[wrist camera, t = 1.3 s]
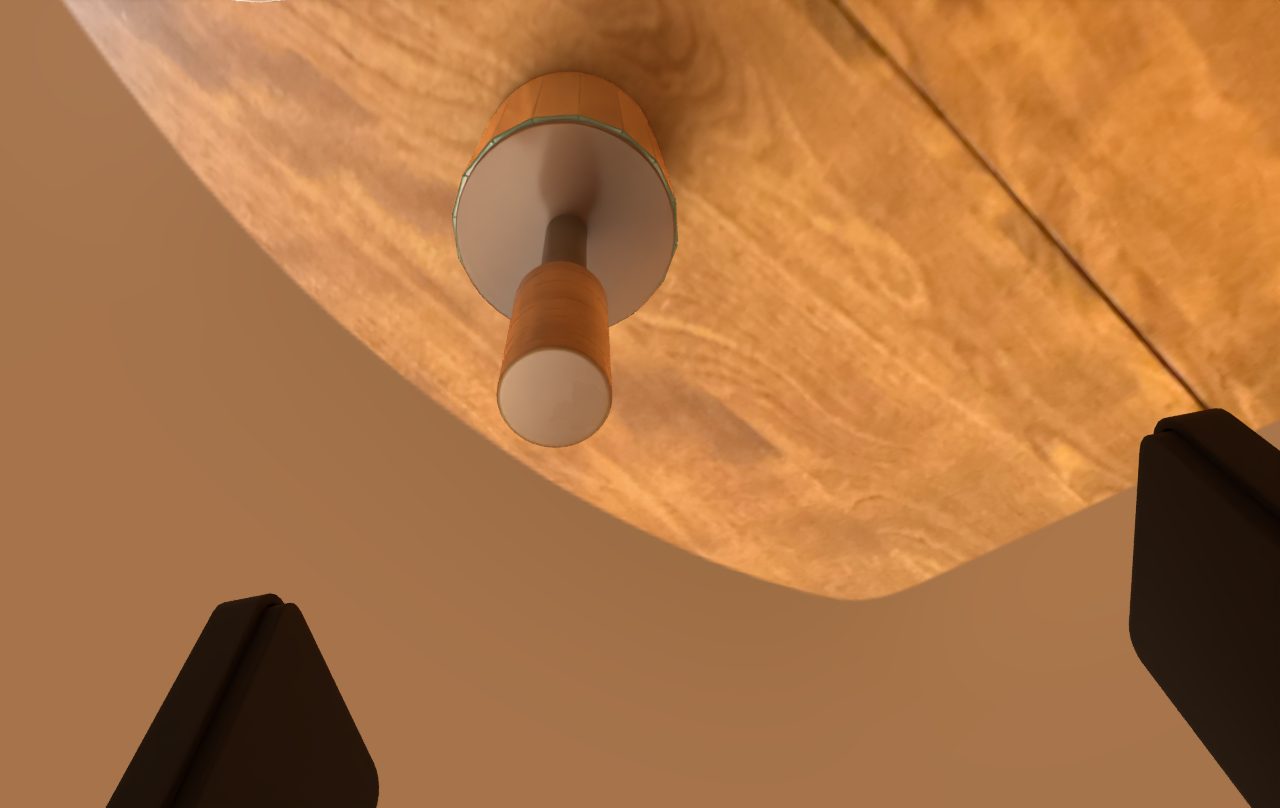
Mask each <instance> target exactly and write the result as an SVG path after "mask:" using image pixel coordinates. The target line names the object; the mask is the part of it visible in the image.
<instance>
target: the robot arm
mask: <svg viewBox="0 0 1280 808" xmlns="http://www.w3.org/2000/svg"><path fill="white" fill-rule="evenodd" d="M1129 632H1130V637H1131V641H1132V644H1133V647H1134V649H1135V651H1136V653H1137V655H1138V657H1139V659H1140V660H1141V662H1142V663H1143V664H1144V666H1145V667H1146V668H1147V670H1148V671H1149V672H1150V674H1151V675H1152V676H1153V678H1154V679H1155V680H1156V682H1157V683H1158V684H1159V686H1160V687H1161V688H1162V690H1163V691H1164V692H1165V694H1166V695H1167V696H1168V698H1169V699H1170V700H1171V702H1172V703H1173V704H1174V706H1175V707H1176V708H1177V710H1178V711H1179V712H1180V713H1181V715H1182V716H1183V718H1185V720H1186V721H1187V723H1188V724H1189V725H1190V727H1191V728H1192V729H1193V731H1194V732H1195V733H1196V735H1197V736H1198V737H1199V739H1200V740H1201V741H1202V743H1203V744H1204V745H1205V746H1206V748H1207V749H1208V751H1209V752H1210V753H1211V755H1212V756H1213V757H1214V759H1215V760H1216V761H1217V763H1218V764H1219V765H1220V767H1221V768H1222V769H1223V770H1224V772H1225V773H1226V774H1227V776H1228V777H1229V778H1230V780H1231V781H1232V783H1233V784H1234V785H1235V786H1236V788H1237V789H1238V790H1239V792H1240V793H1241V794H1242V796H1243V797H1244V798H1245V800H1246V801H1247V802H1248V804H1249V805H1250V806H1251V808H1280V451H1279V450H1278V449H1277V448H1275V447H1274V446H1273V445H1271V444H1270V443H1269V442H1268V441H1266V440H1265V439H1264V438H1262V437H1261V436H1260V435H1258V434H1257V433H1256V432H1254V431H1253V430H1252V429H1250V428H1249V427H1248V426H1246V425H1245V424H1244V423H1242V422H1241V421H1240V420H1238V419H1237V418H1236V417H1234V416H1233V415H1232V414H1231V413H1229V412H1227V411H1225V410H1223V409H1218V408H1214V409H1209V410H1203V411H1198V412H1193V413H1188V414H1183V415H1178V416H1173V417H1168V418H1163V419H1162V420H1160V421H1159V422H1158V423H1157V425H1156V427H1155V429H1154V434H1152V435H1147V436H1146V437H1144V438H1143V440H1142V442H1141V445H1140V453H1139V469H1138V485H1137V501H1136V518H1135V535H1134V550H1133V567H1132V583H1131V600H1130V615H1129ZM378 796H379V781H378V775H377V770H376V768H375V765H374V762H373V760H372V758H371V756H370V754H369V752H368V750H367V748H366V746H365V744H364V742H363V740H362V737H361V735H360V733H359V731H358V729H357V727H356V725H355V723H354V721H353V719H352V717H351V715H350V713H349V710H348V708H347V706H346V704H345V702H344V700H343V698H342V696H341V694H340V692H339V690H338V687H337V686H336V683H335V681H334V679H333V677H332V675H331V673H330V671H329V669H328V667H327V665H326V662H325V660H324V658H323V656H322V654H321V652H320V650H319V648H318V646H317V644H316V642H315V640H314V638H313V635H312V633H311V631H310V629H309V627H308V625H307V623H306V621H305V619H304V617H303V615H302V613H301V611H300V609H299V608H298V607H297V606H296V605H295V604H293V603H287V604H284V603H283V601H282V600H281V599H280V598H279V597H278V596H277V595H275V594H265V595H260V596H255V597H249V598H244V599H239V600H234V601H229V602H224V603H222V604H220V605H218V606H217V607H216V609H215V610H214V611H213V613H212V615H211V616H210V618H209V620H208V622H207V624H206V626H205V627H204V629H203V631H202V633H201V635H200V637H199V638H198V640H197V642H196V644H195V646H194V647H193V649H192V651H191V653H190V655H189V657H188V658H187V660H186V662H185V664H184V666H183V668H182V670H181V671H180V673H179V675H178V677H177V679H176V681H175V682H174V684H173V686H172V688H171V690H170V692H169V693H168V695H167V697H166V699H165V701H164V702H163V704H162V706H161V708H160V710H159V711H158V713H157V715H156V717H155V719H154V721H153V722H152V724H151V726H150V728H149V730H148V731H147V733H146V735H145V737H144V739H143V741H142V743H141V744H140V746H139V748H138V750H137V752H136V753H135V755H134V757H133V759H132V761H131V763H130V764H129V766H128V768H127V770H126V772H125V773H124V775H123V777H122V779H121V781H120V782H119V785H118V786H117V788H116V790H115V792H114V793H113V795H112V797H111V799H110V801H109V803H108V805H107V806H106V808H376V806H377V802H378Z"/></svg>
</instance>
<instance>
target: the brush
mask: <svg viewBox="0 0 1280 808" xmlns="http://www.w3.org/2000/svg"><path fill="white" fill-rule="evenodd" d="M456 238H457V245H458V249H459V254H460V257H461V260H462V263H463V265H464V268H465V270H466V272H467V274H468V276H469V278H470V280H471V282H472V283H473V284H474V286H475V287H476V289H477V290H478V292H479V293H480V294H481V295H482V296H483V297H484V298H485V300H486V301H487V302H488V303H489V304H490V305H492V306H493V307H494V308H495V309H496V310H497V311H499V312H500V313H501V314H503V315H504V316H506V317H507V318H509V319H510V320H511V321H510V326H509V331H508V336H507V341H506V346H505V351H504V356H503V361H502V366H501V372H500V377H499V382H498V387H497V403H498V407H499V410H500V413H501V415H502V417H503V419H504V421H505V422H506V423H507V425H508V426H509V427H510V428H511V429H512V430H513V431H514V432H515V433H516V434H517V435H518V436H520V437H521V438H523V439H525V440H526V441H528V442H531V443H533V444H536V445H539V446H544V447H553V448H555V447H567V446H571V445H575V444H577V443H580V442H582V441H584V440H586V439H587V438H589V437H590V436H592V435H593V434H594V433H595V432H596V431H598V430H599V428H600V427H601V426H602V425H603V424H604V422H605V420H606V419H607V417H608V414H609V412H610V409H611V404H612V382H611V363H610V344H609V327H610V326H612V325H615V324H617V323H619V322H620V321H622V320H624V319H626V318H627V317H629V316H630V315H632V314H633V313H634V312H636V311H637V310H638V309H639V308H640V307H641V306H642V305H644V304H645V303H646V302H647V301H648V299H649V298H650V297H651V296H652V295H653V293H654V292H655V291H656V289H657V288H658V286H659V285H660V283H661V281H662V280H663V278H664V276H665V273H666V271H667V269H668V267H669V263H670V260H671V257H672V253H673V247H674V241H675V223H674V213H673V209H672V205H671V201H670V197H669V194H668V192H667V189H666V187H665V184H664V182H663V180H662V179H661V177H660V175H659V173H658V171H657V170H656V168H655V167H654V166H653V164H652V163H651V162H650V160H649V159H648V158H647V157H646V156H645V155H644V154H643V153H642V152H641V151H640V150H639V149H638V148H637V147H636V146H634V145H633V144H632V143H631V142H629V141H628V140H627V139H625V138H623V137H622V136H620V135H618V134H617V133H615V132H613V131H611V130H608V129H606V128H603V127H601V126H598V125H594V124H591V123H587V122H581V121H574V120H553V121H545V122H539V123H536V124H532V125H529V126H526V127H523V128H521V129H519V130H516V131H514V132H512V133H510V134H509V135H507V136H505V137H504V138H502V139H501V140H499V141H498V142H497V143H496V144H494V145H493V146H492V147H491V148H489V149H488V151H487V152H486V153H485V154H484V155H483V156H482V157H481V158H480V159H479V161H478V162H477V164H476V165H475V166H474V168H473V169H472V171H471V173H470V175H469V177H468V178H467V180H466V182H465V184H464V187H463V190H462V193H461V195H460V198H459V203H458V208H457V213H456Z"/></svg>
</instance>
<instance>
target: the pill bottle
mask: <svg viewBox="0 0 1280 808" xmlns="http://www.w3.org/2000/svg"><path fill="white" fill-rule="evenodd" d="M234 1H242V2H276V1H284V0H234Z"/></svg>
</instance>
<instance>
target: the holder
mask: <svg viewBox="0 0 1280 808" xmlns="http://www.w3.org/2000/svg"><path fill="white" fill-rule="evenodd" d="M553 120H574V121H581V122H587V123H591V124H594V125H598V126H601V127H603V128H606V129H608V130H611V131H613V132H615V133H617V134H618V135H620V136H622V137H623V138H625V139H627V140H628V141H629V142H631V143H632V144H633V145H634V146H636V147H637V148H638V149H639V150H640V151H641V152H642V153H643V154H644V155H645V156H646V157H647V158H648V159H649V160H650V162H651V163H652V164H653V166H654V167H655V168H656V170H657V171H658V173H659V175H660V177H661V179H662V180H663V182H664V184H665V187H666V189H667V192H668V194H669V197H670V201H671V205H672V209H673V213H674V223H675V241H674V247H673V253H672V257H671V260H670V263H669V266H670V264H671V261H672V258H673V256H674V253H675V250H676V248H677V242H678V233H677V207H676V199H675V196H674V193H673V190H672V187H671V184H670V180H669V177H668V174H667V171H666V168H665V165H664V162H663V159H662V156H661V153H660V150H659V146H658V143H657V141H656V138H655V136H654V134H653V132H652V130H651V127H650V125H649V122H648V121H647V119H646V117H645V115H644V113H643V111H642V110H641V108H640V107H639V106H638V105H637V104H636V103H635V101H634V100H633V99H632V98H631V97H630V96H629V95H628V94H626V93H625V92H624V91H623V90H621V89H620V88H619V87H617V86H616V85H614V84H612V83H611V82H609V81H607V80H605V79H602V78H600V77H598V76H594V75H591V74H587V73H580V72H557V73H550V74H547V75H543V76H540V77H538V78H535V79H533V80H531V81H529V82H527V83H525V84H524V85H522V86H521V87H519V88H518V89H517V90H515V91H514V92H513V93H511V94H510V96H509V97H508V98H507V99H506V100H505V101H504V102H503V103H502V105H501V106H500V108H499V109H498V111H497V112H496V113H495V115H494V116H493V117H492V118H491V120H490V122H489V124H488V126H487V128H486V130H485V132H484V134H483V136H482V138H481V140H480V142H479V144H478V146H477V148H476V150H475V152H474V154H473V156H472V158H471V160H470V162H469V164H468V166H467V168H466V170H465V172H464V173H463V175H462V179H461V183H460V187H459V191H458V195H457V198H456V202H455V206H454V210H453V214H452V216H453V217H452V221H453V227H454V234H455V240H456V247H457V253H458V258H459V259H460V262H461V264H462V266H463V267H464V265H463V263H462V260H461V257H460V254H459V249H458V245H457V238H456V213H457V208H458V203H459V198H460V195H461V193H462V190H463V187H464V184H465V182H466V180H467V178H468V177H469V175H470V173H471V171H472V169H473V168H474V166H475V165H476V164H477V162H478V161H479V159H480V158H481V157H482V156H483V155H484V154H485V153H486V152H487V151H488V149H489V148H491V147H492V146H493V145H494V144H496V143H497V142H498V141H499V140H501V139H502V138H504V137H505V136H507V135H509V134H510V133H512V132H514V131H516V130H519V129H521V128H523V127H526V126H529V125H532V124H536V123H539V122H545V121H553ZM464 269H465V268H464ZM668 269H669V267H668ZM668 269H667V271H668ZM667 271H666V273H665V276H664V278H663V280H662V281H661V283H660V285H659V286H658V288H659V287H660V286H661V284H662V283H663V282H664V279H665V277H666V274H667ZM658 288H657V289H658ZM657 289H656V290H657ZM479 294H480V293H479ZM480 295H481V294H480ZM482 297H483V296H482ZM483 298H484V297H483ZM484 299H485V298H484ZM633 314H634V313H633Z"/></svg>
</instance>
